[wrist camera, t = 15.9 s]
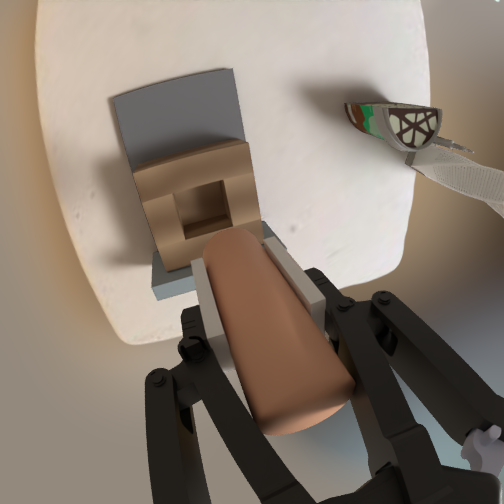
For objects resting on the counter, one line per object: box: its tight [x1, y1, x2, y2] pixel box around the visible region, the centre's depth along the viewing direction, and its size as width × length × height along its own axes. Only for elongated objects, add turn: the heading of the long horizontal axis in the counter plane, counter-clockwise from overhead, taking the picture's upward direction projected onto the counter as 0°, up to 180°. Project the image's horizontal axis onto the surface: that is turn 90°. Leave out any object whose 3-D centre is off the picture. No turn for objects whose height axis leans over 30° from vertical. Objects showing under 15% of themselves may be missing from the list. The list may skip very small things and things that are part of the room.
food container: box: [344, 102, 442, 152], centre depth 31 cm, size 12×6×10 cm, turn 100°
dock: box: [113, 68, 287, 301], centre depth 29 cm, size 23×16×8 cm
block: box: [133, 138, 264, 272], centre depth 31 cm, size 12×12×5 cm
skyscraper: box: [405, 136, 504, 218], centre depth 29 cm, size 8×8×28 cm
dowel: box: [203, 228, 356, 435], centre depth 14 cm, size 4×4×12 cm
